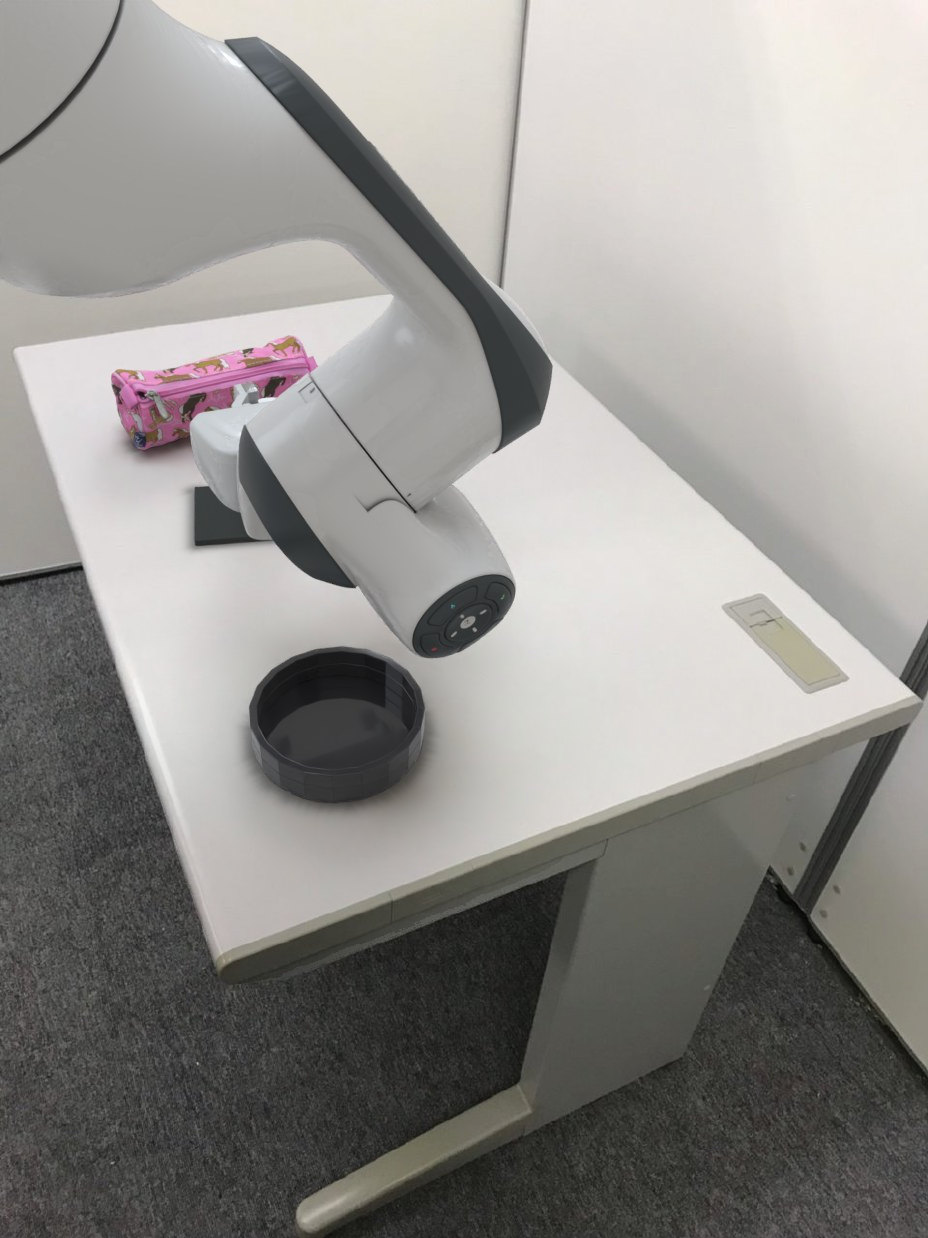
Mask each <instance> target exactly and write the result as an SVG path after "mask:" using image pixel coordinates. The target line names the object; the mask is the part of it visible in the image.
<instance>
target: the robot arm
mask: <svg viewBox="0 0 928 1238" xmlns="http://www.w3.org/2000/svg"><path fill="white" fill-rule="evenodd" d="M307 241H321V242H328V243H332V244H335V245H338V246H340V247H342V248H343V249H345V250H346V251H347V252H348V253H349V254H350V255H351V256H352V257H354V259H355V260H356V261H357V262H358V263H359V264H360V265H361V266H362V267H363V268H364V269H365V270H367V272H368V273H370V275H371V276H373V278H374V279H375V280H376V281H378V282H379V284H381V285H382V287H383V288H385V290H387V291H388V293H390V295H392V296H393V297H392V299H391V301H390V303H389V304H388V306H387V307H386V308H385V310H384V311H383V312H382V313H381V315H380V316H378V318H376V320H374V321H373V322H372V323H371V324H369V326H367V327H366V328H364V329H363V330H362V331H361V332H359V333H358V334H357V335H356V336H354V337H353V338H352V339H351V340H349V341H348V342H347V343H345V344H344V345H343V346H342V347H341V348H339V349H337V350H336V352H334V353H333V354H332V355H331V356H329V357H328V358H327V359H325V360H324V361H323V362H322V363H321V364H319V365H317V366H318V367H317V368H316V369H314V370H313V371H312V372H310V375H311V376H312V377H311V376H310V375H309V374H308V373H307V374H306V375H305V376H303V377H302V378H301V379H300V380H298V381H297V382H296V383H294V384H293V385H292V386H291V387H289V388H288V389H287V390H286V391H284V392H283V393H282V394H281V395H279V396H278V397H277V398H276V399H275V400H273V401H268V402H262V403H259V402H258V400H259V391H258V389H257V388H256V387H255V386H254V383H253V382H251V383H244V384H236V385H234V396H235V400H234V402H233V404H232V405H231V408H227V409H221V410H215V411H208V412H202V413H199V414H197V415H196V416H195V417H194V418H193V420H192V421H191V422H190V435H189V436H190V445H191V451H192V456H193V459H194V462H195V465H196V467H197V469H198V471H199V473H200V475H201V476H202V478H203V479H204V481H205V483H206V485H207V486H209V487H210V488H211V490H212V491H213V492H214V494H215V495H216V496H217V498H218V499H219V500H220V501H221V502H222V503H223V504H224V505H225V506H227V507H228V508H230V509H232V510H234V511H237V512H241V516H242V520H243V523H244V527H245V530H246V532H247V534H248V535H249V536H250V537H251V538H253V539H257V540H261V541H273V542H274V544H275V545H276V546H277V547H278V549H279V550H280V551H281V552H282V553H283V555H284V556H285V557H286V558H287V559H288V560H289V561H290V562H291V563H292V564H293V565H294V566H295V567H296V568H298V570H300V571H301V572H303V573H304V574H306V575H307V576H309V577H310V578H312V579H314V580H317V581H320V582H324V583H327V584H330V585H333V586H336V587H340V588H346V589H357V587H358V589H359V590H360V592H361V593H362V594H363V596H364V597H365V599H366V600H367V602H368V603H369V605H370V607H372V609H373V610H374V611H375V613H376V614H377V615H378V617H379V618H380V619H381V621H382V622H383V623H384V625H386V626H387V628H388V629H389V630H390V631H391V633H392V634H393V635H394V636H395V637H396V638H397V639H398V640H399V641H400V642H401V643H402V645H403V646H405V648H406V649H408V651H410V652H411V653H412V654H413V655H415V656H417V657H420V658H423V659H442V658H446V657H450V656H453V655H455V654H459V653H461V652H463V651H465V650H466V649H468V648H470V647H471V646H472V645H474V644H476V643H477V642H478V641H480V640H481V639H483V637H486V635H488V634H489V633H490V632H491V631H492V630H494V629H495V628H496V627H497V626H498V625H499V624H500V623H501V622H502V621H503V620H504V619H505V616H507V614H508V612H509V611H510V609H511V608H512V606H513V604H514V601H515V598H516V593H517V584H516V579H515V577H514V576H515V575H514V574H513V573H514V572H513V571H512V569H511V566H510V565H509V562H508V561H507V558H506V557H505V555H504V553H503V551H502V549H501V548H500V546H499V543H498V542H497V540H496V538H495V536H494V535H493V533H492V531H491V530H490V529H489V527H488V525H487V524H486V522H485V521H484V519H483V518H482V516H481V515H480V513H479V512H478V511H477V509H476V508H475V506H474V505H473V504H472V503H471V501H470V500H469V499H468V497H467V496H466V495H465V494H464V493H463V492H462V491H461V490H460V488H458V487H456V486H455V485H454V483H456V482H457V481H458V480H460V478H462V477H463V476H464V475H466V474H467V473H468V472H470V471H471V470H472V469H473V468H475V467H476V466H477V465H479V464H480V463H481V462H483V461H484V460H485V459H486V458H488V457H489V456H490V455H492V454H493V455H494V454H496V453H498V452H500V451H501V450H503V449H504V448H506V447H507V446H509V445H511V444H512V443H514V442H515V441H516V440H518V439H519V438H521V437H523V436H524V435H526V434H527V433H529V432H530V431H532V430H534V429H536V428H537V427H538V426H539V425H540V424H541V423H542V420H543V417H544V414H545V410H546V406H547V403H548V398H549V395H550V390H551V385H552V377H553V367H554V365H553V362H552V361H551V360H550V356H549V353H548V350H547V347H546V344H545V342H544V339H543V338H542V336H541V334H540V333H539V331H538V328H537V327H536V325H535V324H534V323H533V322H532V320H531V318H530V317H529V316H528V315H527V313H526V312H525V311H524V310H523V308H522V307H521V306H520V305H519V304H518V303H517V302H516V301H515V300H514V298H512V297H511V296H510V294H508V293H507V292H506V291H505V290H504V289H502V288H501V287H500V286H498V285H497V284H496V283H495V282H493V281H492V280H491V279H489V278H488V277H487V276H486V275H484V274H483V273H481V272H480V271H479V270H478V269H476V267H475V266H474V265H473V264H472V263H471V261H470V260H469V258H468V256H467V255H466V253H465V252H464V251H462V249H461V247H460V246H459V245H458V244H457V242H456V241H455V240H454V239H453V238H452V237H451V236H450V234H449V233H448V232H447V230H446V229H445V228H444V227H443V226H442V225H441V223H440V222H439V221H438V220H437V218H436V217H435V215H433V214H432V212H431V211H430V210H429V208H427V206H425V204H424V203H423V201H422V200H421V199H419V197H418V196H417V194H416V193H415V192H414V191H413V190H412V188H411V187H410V186H409V184H408V183H406V181H405V180H404V179H403V178H402V176H401V175H400V174H399V172H398V171H397V170H396V169H395V168H394V167H393V165H392V164H391V163H390V161H388V159H387V158H386V157H385V156H384V155H383V154H382V152H381V151H380V150H379V149H378V148H377V146H376V145H374V144H373V143H372V142H371V141H370V140H368V139H367V138H366V136H364V135H363V133H362V132H361V131H360V130H359V129H358V127H356V125H355V124H354V123H353V122H352V120H350V118H349V117H348V116H347V115H346V114H345V112H344V111H343V110H342V109H341V108H340V107H339V106H338V105H337V103H335V101H334V100H333V99H332V98H331V96H329V94H327V92H325V90H323V88H322V87H321V86H319V83H317V82H316V81H315V80H314V79H313V78H312V77H311V76H310V75H309V74H308V73H307V72H306V71H305V70H304V69H303V68H302V67H301V66H299V65H298V64H297V63H296V62H295V61H293V60H292V59H291V58H290V57H289V56H287V55H286V54H285V53H283V52H282V51H281V50H279V49H277V48H276V47H275V46H274V45H272V44H270V43H269V42H267V41H265V40H263V39H262V38H260V37H258V36H249V37H247V36H246V37H237V38H226V39H223V41H221V40H218V39H215V38H213V37H210V36H207V35H205V34H203V33H202V32H198V31H197V30H195V29H193V28H191V27H189V26H188V25H185V24H183V23H182V22H181V21H179V20H178V19H176V18H175V17H173V16H171V15H170V14H169V13H167V12H166V11H165V10H164V9H162V8H161V7H160V6H159V5H158V4H156V2H154V0H0V282H3V283H5V284H7V285H9V286H11V287H14V288H16V289H19V290H22V291H26V292H29V293H34V294H38V295H44V296H49V297H56V298H65V299H108V298H109V299H110V298H111V299H112V298H118V297H124V296H131V295H135V294H141V293H146V292H149V291H153V290H156V289H159V288H163V287H166V286H168V285H171V284H173V283H175V282H178V281H181V280H183V279H185V278H187V277H189V276H191V275H195V274H196V273H199V272H202V271H204V270H207V269H209V268H211V267H213V266H217V265H219V264H221V263H224V262H227V261H230V260H233V259H235V258H238V257H241V256H244V255H248V254H252V253H255V252H259V251H262V250H266V249H269V248H273V247H277V246H282V245H286V244H287V245H288V244H292V243H297V242H307Z"/></svg>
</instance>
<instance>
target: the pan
mask: <svg viewBox="0 0 928 1238" xmlns="http://www.w3.org/2000/svg"><path fill="white" fill-rule="evenodd" d="M248 711H249V712H248V714H249V715H248V717H249V730H250V738H251V744H252V751H253V753H254V757H255V758H256V761H257V763H258V765H259V767H260V768H261V770H262V772H263V773H264V774H265V775H266V777H267V778H269V779H270V780H271V781H272V782H273V783H274V784H275V785H277V786H278V787H279V788H281V789H282V790H284V791H285V792H288V793H290V794H291V795H294V796H297V797H300V798H302V799H306V800H310V801H315V802H321V803H349V802H354V801H359V800H364V799H367V798H371V797H373V796H375V795H377V794H380V793H382V792H384V791H386V790H388V789H389V788H392V787H393V786H394V785H395V784H397V783H398V782H400V781H401V780H402V779H403V778H404V777H405V776H406V775H407V774H408V773H409V772H410V770H411V769H412V768H413V767H414V765H415V763H416V762H417V760H418V758H419V756H420V753H421V750H422V747H423V742H424V734H425V721H426V705H425V700H424V696H423V692H422V689H421V687H420V685H419V684H418V682H417V681H416V680H415V678H414V676H413V675H412V674H411V672H410V671H409V670H408V669H407V668H405V667H404V666H402V665H401V664H399V663H398V662H397V661H395V660H394V659H392V658H391V657H389V656H387V655H384V654H381V653H379V652H376V651H373V650H370V649H368V648H367V649H366V648H360V647H351V646H345V645H343V646H342V645H341V646H340V645H339V646H331V647H319V648H314V649H311V650H307V651H305V652H302V653H299V654H295V655H293V656H290V657H289V658H287V659H285V660H284V661H283V662H281V663H280V664H278V665H276V666H275V667H273V668H272V669H270V670H269V672H267V674H266V675H265V676H264V677H263V679H262V680H261V681H259V683H258V684H257V685H256V687H255V689H254V692H253V695H252V698H251V699H250V703H249V706H248Z"/></svg>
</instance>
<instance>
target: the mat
mask: <svg viewBox="0 0 928 1238" xmlns="http://www.w3.org/2000/svg"><path fill="white" fill-rule="evenodd" d="M260 541H262V540H257V539H253V538H251V537H250V536H249V535H248V534H247V532H246V530H245V527H244V523H243V520H242V516H241V512H237V511H234V510H232V509H230V508H228V507H227V506H225V505H224V504H223V503H222V502H221V501H220V500H219V499H218V498H217V496H216V495H215V494H214V492H213V491H212V490H211V488H210V487H209V486H208V485H206V486H203V485H202V486H195V487H194V545H195V546H205V545H207V546H208V545H219V544H221V545H222V544H234V543H246V542H248V543H249V542H260Z"/></svg>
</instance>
